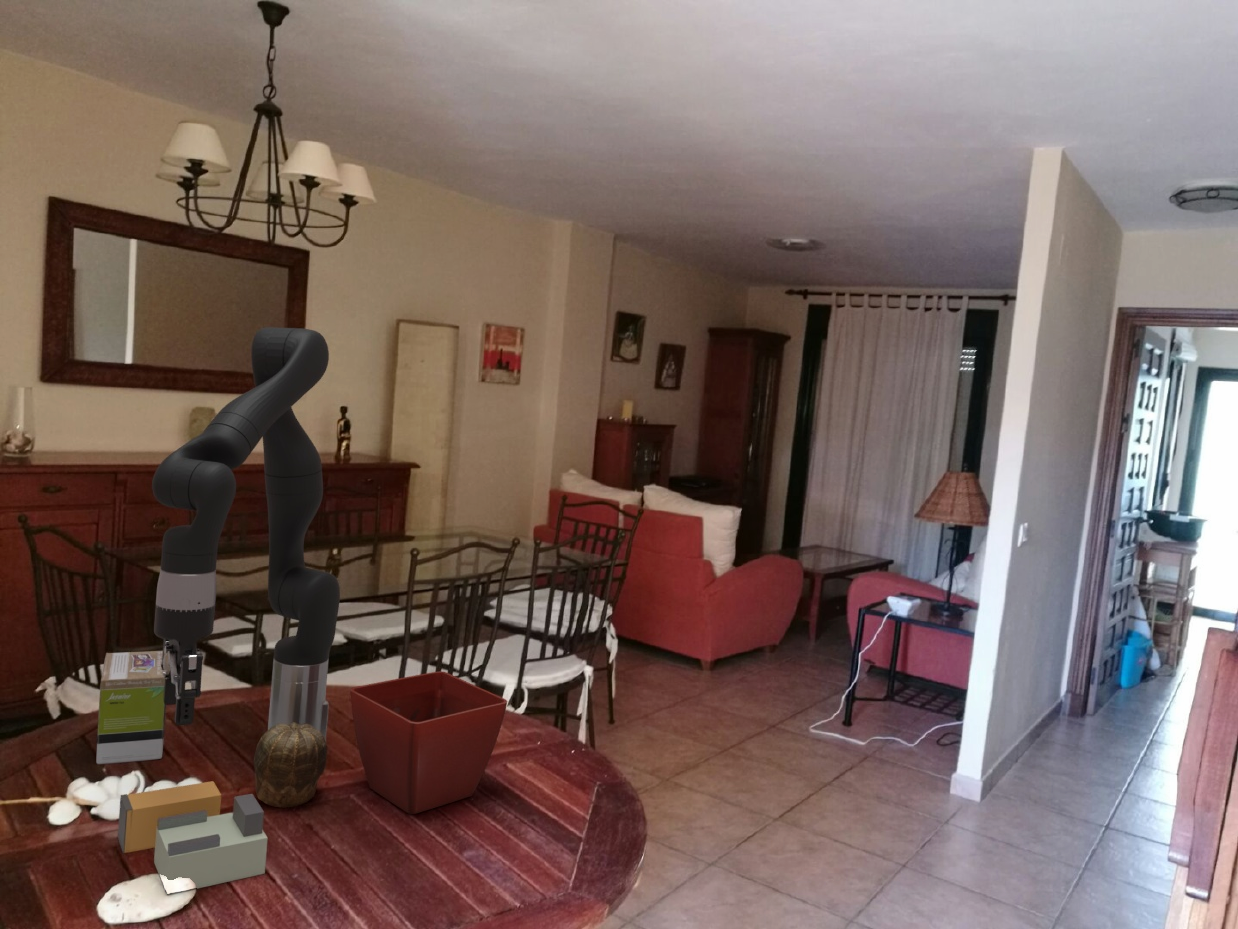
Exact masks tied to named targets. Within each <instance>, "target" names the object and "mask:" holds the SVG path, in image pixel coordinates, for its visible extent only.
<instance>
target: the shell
mask: <svg viewBox="0 0 1238 929" xmlns="http://www.w3.org/2000/svg"><path fill="white" fill-rule="evenodd" d="M327 758H328V744H327V739H326V740H325V738H324V736H323V735H322V734H321V733H320V732H319V731H317V730H316V729H315V728H314V727H312V726H311V725H309V724H304V725H299V724H297V723H295V722H292V723H290V724H287V725H286V724H277V725H274V726H273V727H271V728H270V729H269V730H268V729H267V731H265V732H264V733H263V734H262V736H261V737H260V739H259V741H258V743H257V745H256V749H255V753H254V756H253V767H254V782H255V783H254V788H255V792H256V796H257V799H258V800H260V801H261V802H263V803H264V804H266V805H268V806H272V807H273V806H274V807H273V808H275V807H276V808H281V807H283V809H286V807H288V808H293V807H292V806H295V807H299V806H301V804H302V805H304V804H306V803H308V801H309V800H310V799H311V800H312V799H313V798H314V797H313V796H315V795H316V792H317V788H318V782H319V778H320V777H321V776H322V775H323V774H324V771H325V769H326V765H327ZM311 800H310V801H311ZM310 801H309V802H310ZM298 805H299V806H298Z"/></svg>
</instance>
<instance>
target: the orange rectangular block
mask: <svg viewBox="0 0 1238 929" xmlns="http://www.w3.org/2000/svg"><path fill="white" fill-rule="evenodd" d="M119 798H120V799H119V814H118V827H117V840H118V842H119V845H120V848H121V851H122V854H128V853H131V852H137V851H144V850H148V849H152V848H153V849H155V842H156V828H157V821H158V818H163V817H169V816H175V815H180V814H186V813H192V812H197V811H203V810H206V811H207V817H210V816H216V815H221V803H222V802H221V801H222V794H221V792H220V790H219V789H218V787H217V785H216V783H215V782H214V781H213V780H212V781H205V782H199V783H193V784H187V785H181V786H174V787H168V788H161V789H155V790H150V791H141V792H136V793H129V794H127V793H125V794H120V797H119Z"/></svg>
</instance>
